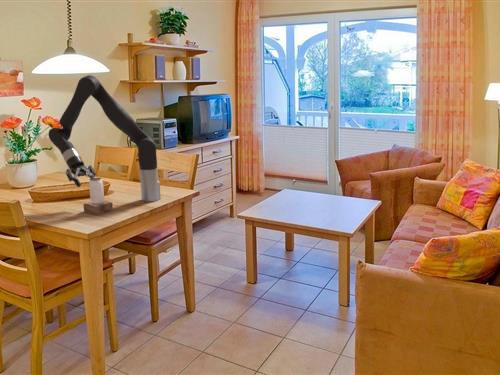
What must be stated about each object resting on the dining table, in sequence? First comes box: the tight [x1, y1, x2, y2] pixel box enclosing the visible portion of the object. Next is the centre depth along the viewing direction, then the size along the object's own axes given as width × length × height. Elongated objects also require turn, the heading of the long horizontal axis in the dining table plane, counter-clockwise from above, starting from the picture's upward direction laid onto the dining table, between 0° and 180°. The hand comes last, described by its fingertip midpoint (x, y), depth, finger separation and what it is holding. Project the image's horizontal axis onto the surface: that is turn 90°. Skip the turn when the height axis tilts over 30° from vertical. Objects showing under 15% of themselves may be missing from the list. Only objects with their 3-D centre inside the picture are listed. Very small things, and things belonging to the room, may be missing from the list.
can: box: [88, 177, 105, 204], centre depth 238 cm, size 6×6×12 cm
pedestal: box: [83, 200, 114, 216], centre depth 240 cm, size 10×10×4 cm
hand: (87, 184), depth 242 cm, fingers open, 8 cm apart
